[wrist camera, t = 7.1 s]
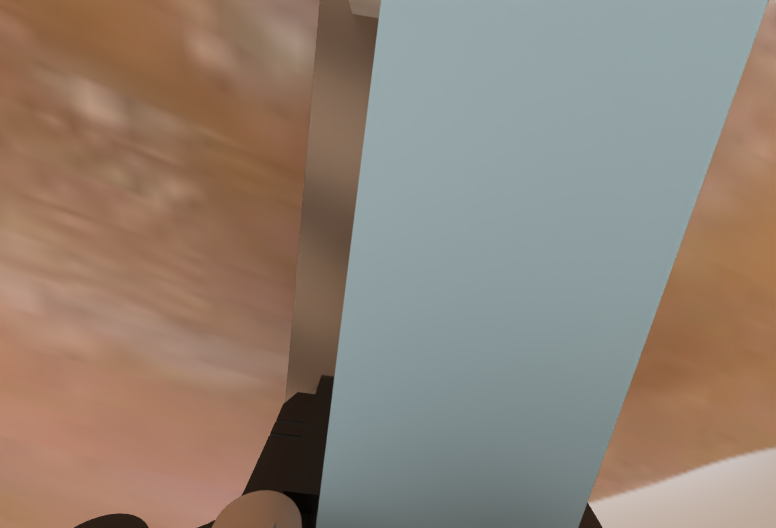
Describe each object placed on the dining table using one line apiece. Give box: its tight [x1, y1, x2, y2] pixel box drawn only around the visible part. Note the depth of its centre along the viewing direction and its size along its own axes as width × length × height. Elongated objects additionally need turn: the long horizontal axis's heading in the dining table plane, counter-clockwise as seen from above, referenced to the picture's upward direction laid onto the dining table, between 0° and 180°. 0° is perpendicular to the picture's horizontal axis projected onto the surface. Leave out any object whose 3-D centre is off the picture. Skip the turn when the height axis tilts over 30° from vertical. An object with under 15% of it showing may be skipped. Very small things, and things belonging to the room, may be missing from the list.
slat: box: [316, 0, 769, 528], centre depth 8 cm, size 20×4×5 cm, turn 172°
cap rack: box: [285, 0, 381, 402], centre depth 11 cm, size 24×9×9 cm, turn 172°
